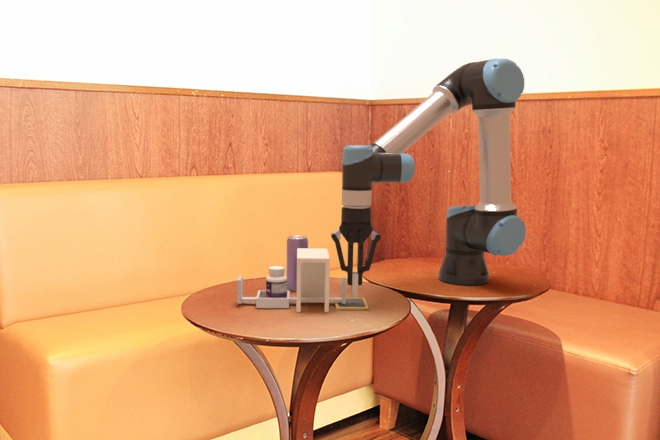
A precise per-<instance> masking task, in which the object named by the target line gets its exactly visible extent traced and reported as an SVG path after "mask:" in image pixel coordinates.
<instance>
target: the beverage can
mask: <svg viewBox="0 0 660 440" xmlns="http://www.w3.org/2000/svg"><path fill="white" fill-rule="evenodd" d="M297 248H309V239H308V236H306V235H301V234H300V235H299V234H298V235H295V234H294V235H289V236H287V239H286V277H287V291H292V292H297Z"/></svg>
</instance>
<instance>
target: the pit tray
mask: <svg viewBox="0 0 660 440" xmlns="http://www.w3.org/2000/svg"><path fill="white" fill-rule="evenodd" d="M334 304H335V310H336V311H369V306H368V304H367V301H366V299H365V297H358V299H352V297H346V304H342V303H334Z"/></svg>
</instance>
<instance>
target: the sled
mask: <svg viewBox="0 0 660 440" xmlns="http://www.w3.org/2000/svg"><path fill="white" fill-rule="evenodd" d="M340 279H341V280H340V297H330V296H329V304H330V303H334V304H335V303H342V304H346V298H347V279H346V276H340ZM290 293H291V292H290V290H287V298H266V289H265V290H264V289H263V290H262V289H260V290H258V291H257V294H256V296H244V276H243V275H239V276H238V278H237V279H236V304H240V305H241V304H242V303H255V308H256V309H290V303H297V296H296V297H295V296H293V297H291V294H290ZM301 303H325V297H301Z"/></svg>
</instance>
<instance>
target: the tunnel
mask: <svg viewBox="0 0 660 440" xmlns="http://www.w3.org/2000/svg"><path fill="white" fill-rule="evenodd" d="M330 260H331V259H330V255H329V249H328V248H322V247H321V248H320V247H319V248H309V247H308V248H297V291H296V297H297V302H295V303H296V305H295V306H296V307H295V308H296V310H295V311H296V313H301V303H302V302H301V297H325V302H324V313H329V312H330V302H329V297H330V270H331V269H330V264H331V263H330V262H331V261H330Z"/></svg>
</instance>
